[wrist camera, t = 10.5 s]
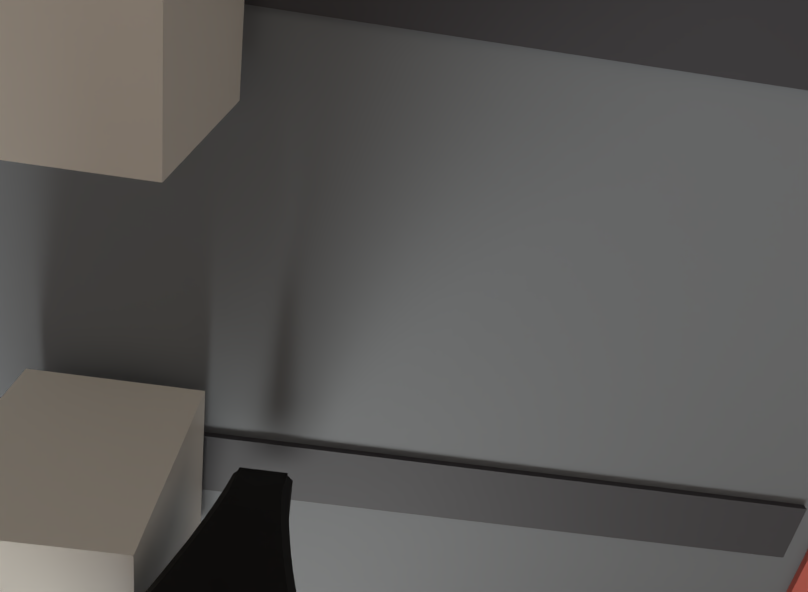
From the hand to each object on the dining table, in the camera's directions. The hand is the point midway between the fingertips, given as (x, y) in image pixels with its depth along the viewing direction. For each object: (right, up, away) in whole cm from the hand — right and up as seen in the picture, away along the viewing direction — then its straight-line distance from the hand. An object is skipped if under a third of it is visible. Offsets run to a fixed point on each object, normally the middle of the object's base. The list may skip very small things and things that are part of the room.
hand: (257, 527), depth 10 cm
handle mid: (-2, +1, +1) cm, 2 cm away
